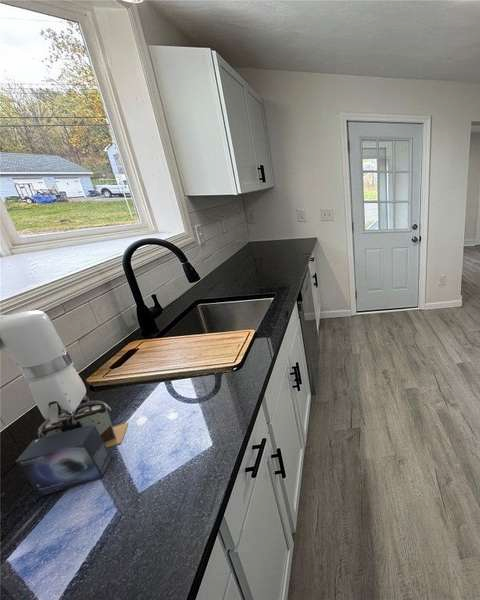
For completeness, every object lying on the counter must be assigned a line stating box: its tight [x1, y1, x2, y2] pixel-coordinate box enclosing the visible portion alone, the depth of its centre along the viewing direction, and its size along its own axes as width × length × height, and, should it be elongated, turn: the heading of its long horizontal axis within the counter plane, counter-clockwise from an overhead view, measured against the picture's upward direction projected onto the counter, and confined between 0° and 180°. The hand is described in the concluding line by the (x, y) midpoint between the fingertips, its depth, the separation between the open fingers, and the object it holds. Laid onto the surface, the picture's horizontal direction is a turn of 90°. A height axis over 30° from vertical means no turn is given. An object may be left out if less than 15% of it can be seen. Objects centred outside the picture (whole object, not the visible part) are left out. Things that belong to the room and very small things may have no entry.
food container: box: [37, 400, 116, 443], centre depth 76 cm, size 12×6×10 cm, turn 133°
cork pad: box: [105, 422, 129, 449], centre depth 78 cm, size 13×8×1 cm, turn 119°
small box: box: [15, 424, 114, 498], centre depth 67 cm, size 11×6×10 cm, turn 114°
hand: (82, 426), depth 76 cm, fingers closed on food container, 6 cm apart
